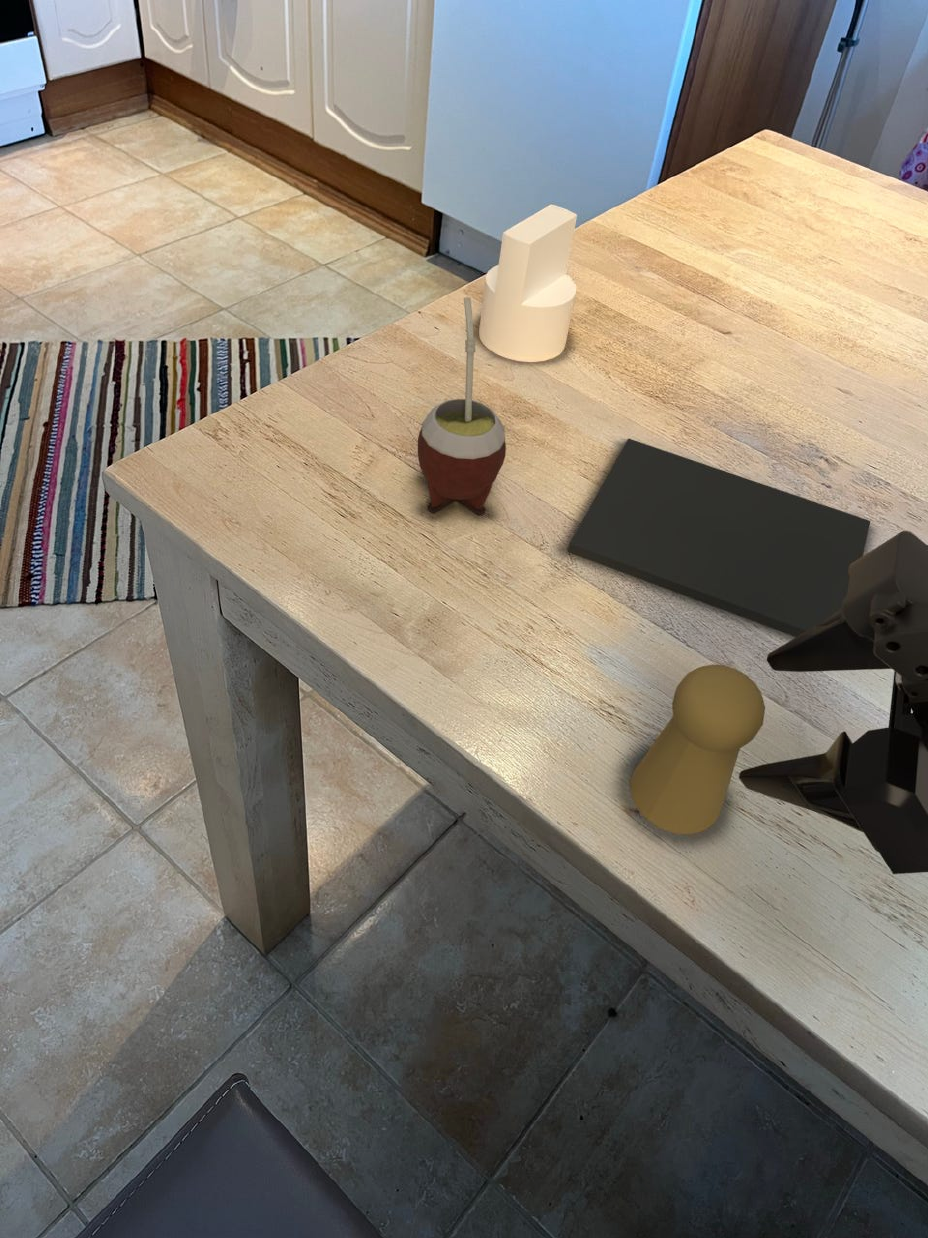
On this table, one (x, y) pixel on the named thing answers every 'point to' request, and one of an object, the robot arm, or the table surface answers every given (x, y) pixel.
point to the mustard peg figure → (698, 749)
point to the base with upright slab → (531, 289)
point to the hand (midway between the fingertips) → (756, 718)
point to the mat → (721, 539)
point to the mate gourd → (461, 444)
